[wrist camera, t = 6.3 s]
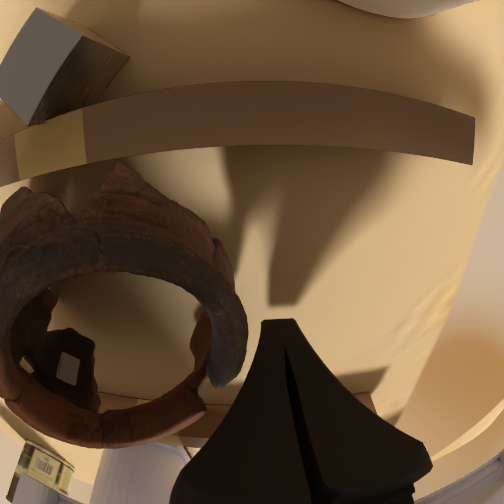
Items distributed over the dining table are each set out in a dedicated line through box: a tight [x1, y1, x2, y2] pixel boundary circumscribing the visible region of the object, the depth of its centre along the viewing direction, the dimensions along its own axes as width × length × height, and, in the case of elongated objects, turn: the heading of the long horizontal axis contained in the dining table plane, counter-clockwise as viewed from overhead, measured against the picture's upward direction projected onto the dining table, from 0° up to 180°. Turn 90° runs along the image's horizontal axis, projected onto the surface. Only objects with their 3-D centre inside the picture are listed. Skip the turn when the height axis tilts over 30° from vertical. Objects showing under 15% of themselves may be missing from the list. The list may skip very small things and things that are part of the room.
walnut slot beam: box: [0, 81, 475, 448], centre depth 10 cm, size 17×28×2 cm, turn 92°
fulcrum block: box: [0, 8, 130, 126], centre depth 5 cm, size 3×3×3 cm
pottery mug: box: [0, 162, 248, 449], centre depth 9 cm, size 12×10×8 cm
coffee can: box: [6, 440, 75, 503], centre depth 20 cm, size 10×10×14 cm
